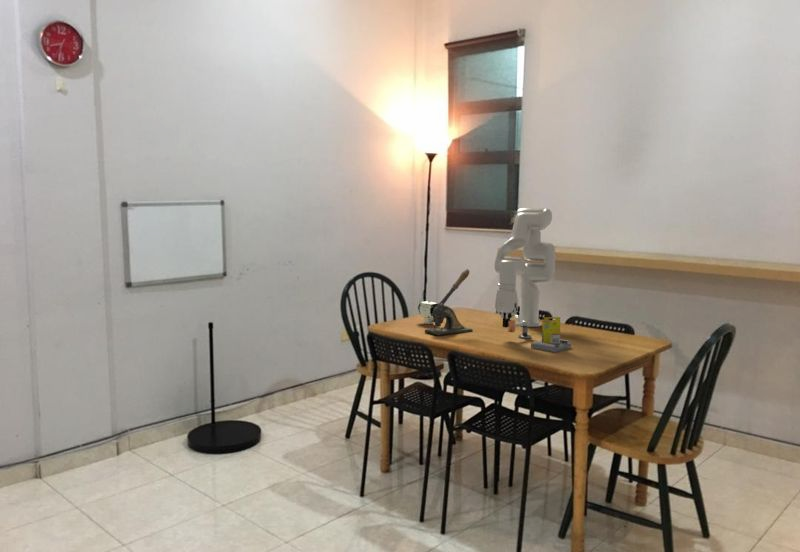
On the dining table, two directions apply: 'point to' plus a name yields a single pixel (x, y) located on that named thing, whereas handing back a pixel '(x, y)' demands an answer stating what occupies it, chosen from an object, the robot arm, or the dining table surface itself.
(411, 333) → the dining table surface
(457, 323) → the embossing press
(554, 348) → the plate
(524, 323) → the press lever
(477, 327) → the dining table surface
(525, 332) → the lever post
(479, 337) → the dining table surface
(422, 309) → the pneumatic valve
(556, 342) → the crayon box
